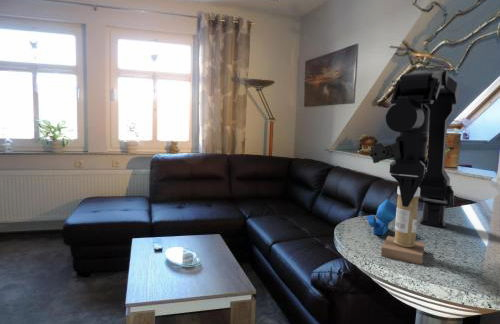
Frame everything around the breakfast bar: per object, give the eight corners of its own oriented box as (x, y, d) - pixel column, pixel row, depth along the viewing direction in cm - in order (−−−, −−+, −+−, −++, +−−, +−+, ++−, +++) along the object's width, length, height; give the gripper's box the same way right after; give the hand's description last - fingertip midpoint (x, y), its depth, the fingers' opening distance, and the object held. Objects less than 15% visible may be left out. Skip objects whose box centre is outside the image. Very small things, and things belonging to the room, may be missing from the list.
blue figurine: (363, 210, 85) (373, 192, 94) (362, 239, 88) (373, 219, 97) (394, 215, 81) (401, 196, 90) (392, 246, 84) (400, 224, 93)
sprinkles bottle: (419, 247, 73) (425, 188, 71) (400, 248, 72) (405, 188, 71) (407, 240, 77) (412, 184, 76) (389, 241, 77) (393, 184, 75)
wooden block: (387, 243, 80) (387, 235, 80) (424, 250, 76) (424, 242, 76) (381, 256, 73) (381, 247, 73) (421, 264, 69) (422, 255, 68)
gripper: (381, 130, 83) (376, 190, 85) (365, 131, 67) (361, 205, 69) (430, 132, 78) (425, 196, 80) (427, 133, 62) (420, 213, 64)
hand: (407, 202), depth 73 cm, fingers open, 9 cm apart
